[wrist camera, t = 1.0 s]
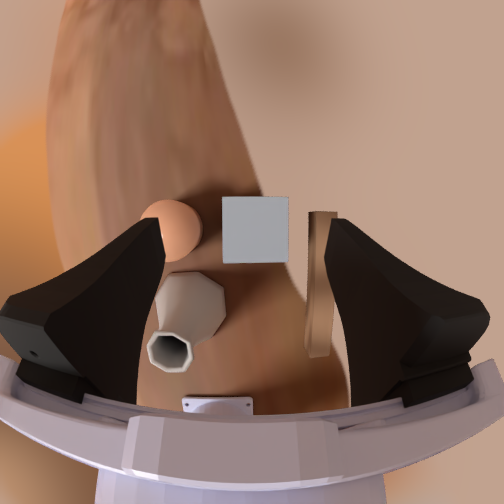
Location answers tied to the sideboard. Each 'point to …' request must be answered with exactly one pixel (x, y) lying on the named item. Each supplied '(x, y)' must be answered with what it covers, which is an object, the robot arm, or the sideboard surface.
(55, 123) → the sideboard surface
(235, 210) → the slate block
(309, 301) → the walnut rail
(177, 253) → the peach egg shape
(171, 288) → the flask
